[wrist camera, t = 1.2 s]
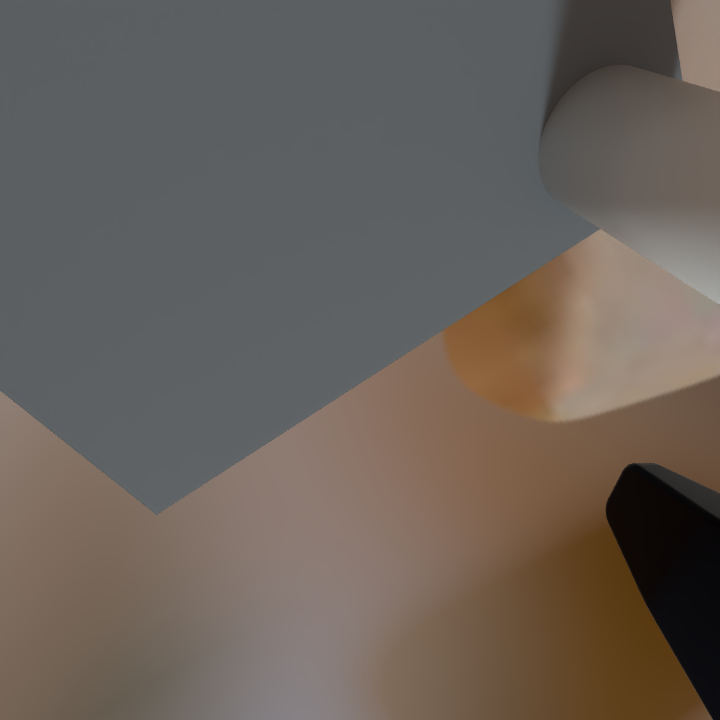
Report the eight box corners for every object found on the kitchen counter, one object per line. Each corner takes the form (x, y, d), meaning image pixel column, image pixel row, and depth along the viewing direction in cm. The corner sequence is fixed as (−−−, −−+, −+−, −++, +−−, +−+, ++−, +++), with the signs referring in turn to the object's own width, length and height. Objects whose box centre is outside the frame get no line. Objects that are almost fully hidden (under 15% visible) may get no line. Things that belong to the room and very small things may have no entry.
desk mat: (154, 498, 24) (156, 514, 23) (-447, 8, 13) (-474, 13, 12) (679, 159, 23) (695, 167, 22) (535, -679, 12) (560, -710, 11)
